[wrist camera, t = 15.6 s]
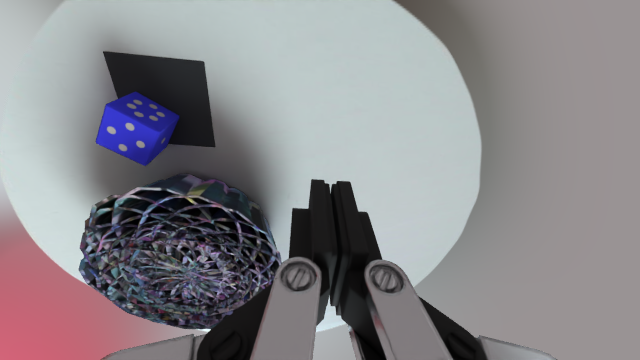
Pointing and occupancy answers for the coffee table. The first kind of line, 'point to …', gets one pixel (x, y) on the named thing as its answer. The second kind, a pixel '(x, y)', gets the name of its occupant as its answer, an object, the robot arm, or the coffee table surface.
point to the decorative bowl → (179, 251)
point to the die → (136, 127)
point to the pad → (168, 91)
